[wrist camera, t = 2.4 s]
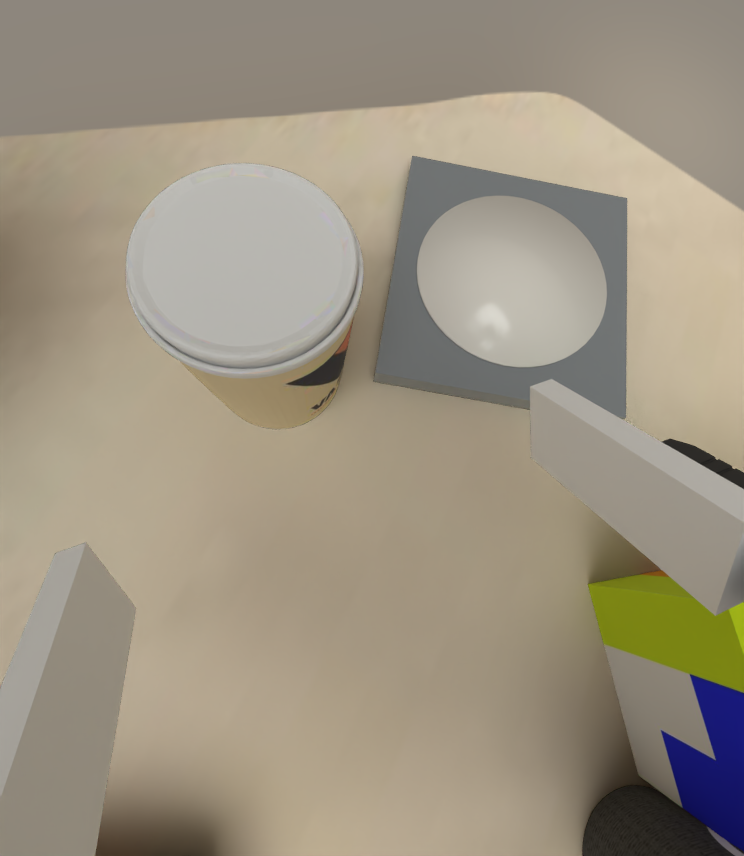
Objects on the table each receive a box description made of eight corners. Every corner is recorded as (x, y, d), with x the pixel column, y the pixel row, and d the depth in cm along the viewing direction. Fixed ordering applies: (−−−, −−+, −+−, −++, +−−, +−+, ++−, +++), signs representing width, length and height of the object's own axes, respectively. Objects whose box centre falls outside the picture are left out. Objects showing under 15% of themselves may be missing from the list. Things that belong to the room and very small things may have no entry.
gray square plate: (373, 381, 29) (375, 371, 28) (408, 172, 34) (412, 153, 32) (611, 424, 30) (627, 416, 28) (614, 213, 34) (628, 196, 33)
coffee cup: (340, 453, 28) (345, 385, 16) (188, 430, 27) (83, 343, 16) (362, 319, 30) (379, 177, 19) (223, 296, 30) (154, 137, 18)
